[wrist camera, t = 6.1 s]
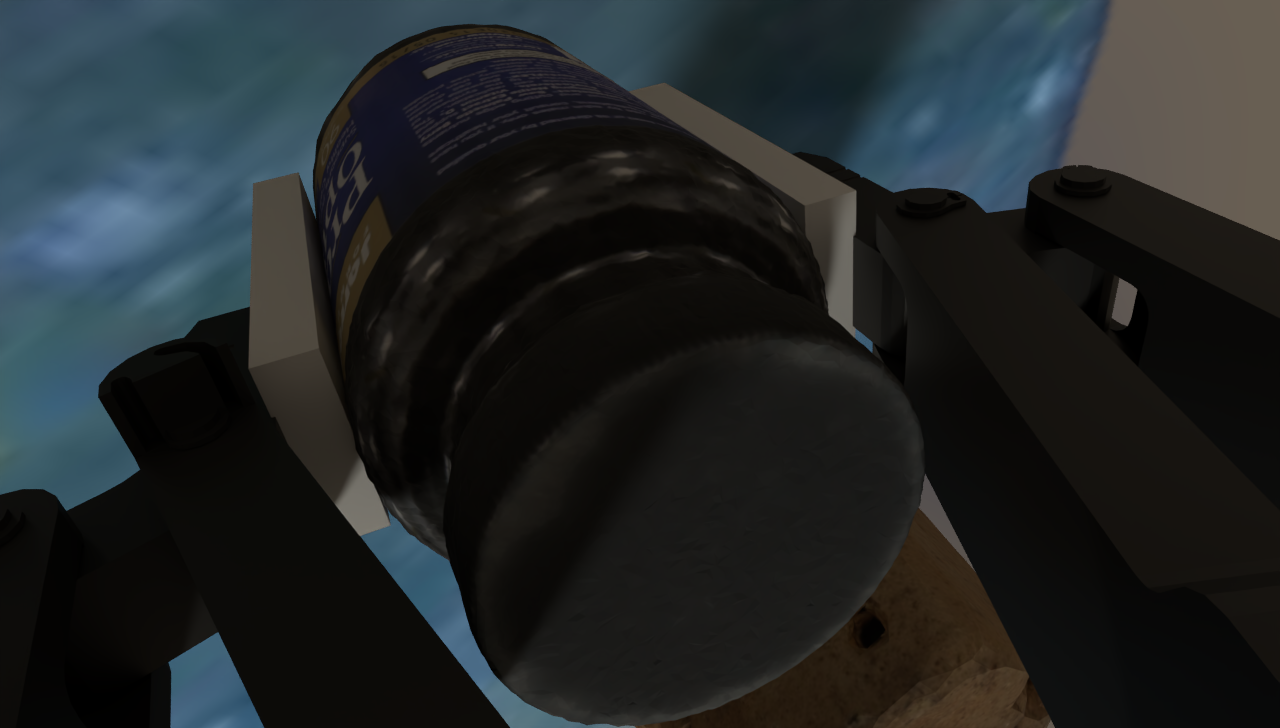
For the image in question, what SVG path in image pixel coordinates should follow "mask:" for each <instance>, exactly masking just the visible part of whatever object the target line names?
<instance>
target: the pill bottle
mask: <svg viewBox="0 0 1280 728" xmlns="http://www.w3.org/2000/svg"><path fill="white" fill-rule="evenodd" d="M313 191H314V201H315V211H316V221H317V225H318V230H319V235H320V241H321V247H322V253H323V261H324V268H325V273H326V278H327V285H328V290H329V296H330V302H331V309H332V316H333V322H334V327H335V332H336V339H337V345H338V350H339V356H340V362H341V370H342V374H343V379H344V385H345V391H346V404H347V407H348V414H349V420H350V423H351V426H352V431H353V436H354V441H355V448H356V451H357V453H358V455H359V457H360V458H361V460H362V462H363V464H364V467H365V471H366V475H367V477H368V479H369V480H370V481H371V482H372V483H373V484H374V487H375V489H376V491H377V493H378V495H379V497H380V499H381V502H382V504H383V505H384V506H386V507H387V508H388V510H389V512H390V513H391V515H392V516H394V517H395V518H396V519H397V520H398V521H399V522H400V523H401V524H402V526H403V527H404V528H405V529H406V531H407V532H408V533H409V534H410V535H413V536H415V537H416V538H417V539H418V540H419V541H420V542H421V543H423V544H424V545H426V546H428V547H429V548H430V549H432V550H433V551H435V552H436V553H438V554H439V555H441V556H443V557H444V558H446V559H447V560H449V561H450V564H451V567H452V570H453V573H454V575H455V578H456V581H457V583H458V585H459V589H460V592H461V597H462V601H463V605H464V608H465V612H466V616H467V619H468V623H469V626H470V629H471V632H472V634H473V636H474V639H475V641H476V643H477V645H478V648H479V650H480V651H481V653H482V655H483V656H484V657H485V659H486V661H487V663H488V665H489V667H490V669H491V670H492V672H493V673H494V675H495V676H496V677H497V678H498V679H499V680H500V681H501V682H502V683H503V684H504V685H505V686H506V687H507V688H508V689H509V690H510V691H511V692H512V693H514V694H516V695H517V696H518V697H519V698H521V699H522V700H523V701H524V702H526V703H528V704H530V705H532V706H534V707H535V708H537V709H540V710H542V711H544V712H546V713H548V714H551V715H553V716H557V717H563V718H564V719H566V720H567V721H571V722H580V723H582V724H585V725H592V724H610V725H614V726H617V727H619V726H625V725H629V726H641V725H646V724H656V723H662V722H666V721H675V720H678V719H681V718H684V717H687V716H690V715H693V714H698V713H701V712H703V711H706V710H713V709H715V708H717V707H720V706H722V705H724V704H726V703H728V702H730V701H732V700H735V699H738V698H741V697H742V696H744V695H745V694H747V693H750V692H752V691H754V690H756V689H758V688H759V687H761V686H763V685H765V684H766V683H768V682H770V681H772V680H774V679H776V678H778V677H779V676H781V675H782V674H783V673H785V672H786V671H788V670H789V669H791V668H793V667H794V666H796V665H797V664H799V663H800V662H801V661H802V660H804V659H805V658H806V657H808V656H809V655H810V654H811V653H813V652H814V651H815V650H817V649H818V648H819V647H821V646H822V645H823V644H824V643H825V642H826V641H828V640H829V639H830V638H831V637H833V636H834V635H835V634H836V633H837V632H838V631H839V630H840V629H841V628H842V627H843V626H844V625H845V624H846V623H847V622H848V621H849V620H850V619H851V618H852V616H853V615H854V614H855V613H856V612H857V611H858V609H859V608H860V607H861V606H862V605H863V604H864V603H865V602H866V600H867V599H868V598H869V597H870V596H871V595H872V594H873V593H874V592H875V590H876V588H877V587H878V585H879V583H880V582H881V581H882V579H883V578H884V576H885V575H886V574H887V572H888V571H889V570H890V568H891V567H892V565H893V563H894V561H895V559H896V558H897V556H898V555H899V553H900V551H901V549H902V547H903V545H904V543H905V540H906V538H907V536H908V534H909V530H910V527H911V524H912V521H913V518H914V515H915V513H916V511H917V510H918V508H919V506H920V501H921V494H922V490H923V481H924V476H925V467H926V465H925V449H924V438H923V434H922V430H921V425H920V421H919V418H918V415H917V413H916V410H915V407H914V405H913V402H912V400H911V398H910V396H909V394H908V393H907V392H906V390H905V388H904V387H903V385H902V384H901V382H900V380H899V379H898V378H897V377H896V376H895V375H894V374H893V373H892V372H891V371H890V369H889V368H888V367H887V366H886V365H885V364H884V363H883V362H882V361H881V360H880V359H879V358H877V357H876V356H875V355H874V354H872V353H871V352H870V351H869V350H868V349H867V348H866V347H865V346H864V345H863V344H861V343H860V342H859V341H858V340H856V339H855V338H854V337H853V336H852V335H851V334H850V333H849V332H848V331H847V330H846V329H845V328H844V327H843V326H842V325H841V324H840V323H839V322H837V321H836V320H835V319H833V318H832V317H830V316H829V313H828V311H829V309H828V301H827V299H826V294H825V282H824V280H823V277H822V275H821V272H820V266H819V263H818V261H817V260H816V258H815V256H814V254H813V249H812V246H811V242H810V241H809V240H808V239H807V237H806V235H805V234H804V232H803V231H802V229H801V228H800V226H799V225H798V224H797V222H796V220H795V219H794V217H793V215H792V213H791V212H790V211H789V209H788V208H787V207H786V206H785V205H784V204H783V202H782V201H781V199H780V198H779V197H778V196H777V195H776V194H775V193H774V192H773V191H772V190H771V189H770V188H769V187H768V186H766V185H765V184H763V183H762V182H761V181H760V180H758V179H757V178H756V176H755V175H754V174H753V173H752V172H751V171H750V170H749V169H747V168H746V167H744V166H743V165H741V164H740V163H738V162H736V161H735V160H733V159H730V158H728V157H727V156H725V155H723V154H722V153H720V152H719V151H717V150H715V149H714V148H712V147H711V146H709V145H708V144H707V143H705V142H704V141H702V140H700V139H699V138H697V137H696V136H694V135H693V134H691V133H690V132H689V131H687V130H686V129H684V128H682V127H681V126H679V125H678V124H676V123H675V122H673V121H672V120H670V119H669V118H667V117H666V116H664V115H663V114H661V113H659V112H658V111H657V110H655V109H654V108H652V107H651V106H649V105H648V104H647V103H645V102H643V101H642V100H640V99H639V98H637V97H636V96H634V95H632V94H631V93H630V92H628V91H627V90H625V89H624V88H622V87H620V86H619V85H617V84H616V83H615V82H614V81H612V80H610V79H609V78H607V77H606V76H604V75H602V74H601V73H599V72H597V71H596V70H594V69H593V68H591V67H590V66H588V65H586V64H585V63H584V62H582V61H581V60H579V59H577V58H576V57H574V56H573V55H571V54H569V53H568V52H566V51H565V50H563V49H561V48H560V47H558V46H557V45H555V44H554V43H552V42H551V41H549V40H547V39H546V38H543V37H541V36H538V35H535V34H532V33H529V32H526V31H523V30H520V29H517V28H513V27H509V26H501V25H476V24H463V25H453V26H443V27H438V28H434V29H431V30H427V31H425V32H422V33H420V34H417V35H414V36H411V37H408V38H406V39H403V40H402V41H400V42H398V43H396V44H394V45H393V46H391V47H389V48H388V49H386V50H384V51H383V52H381V53H379V54H377V55H376V56H375V57H374V58H373V59H372V60H371V61H370V62H369V63H368V64H367V65H366V66H365V67H364V68H363V69H362V70H361V71H360V73H359V74H358V75H357V76H356V77H355V79H354V80H353V81H352V82H351V83H350V85H349V86H348V88H347V89H346V91H345V92H344V94H343V95H342V97H341V98H340V100H339V101H338V103H337V104H336V105H335V107H334V108H333V109H332V111H331V112H330V114H329V115H328V116H327V118H326V120H325V122H324V124H323V126H322V129H321V131H320V134H319V136H318V139H317V144H316V155H315V164H314V169H313Z"/></svg>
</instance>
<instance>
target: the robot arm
mask: <svg viewBox="0 0 1280 728" xmlns="http://www.w3.org/2000/svg"><path fill="white" fill-rule="evenodd" d="M629 92H630V93H631V94H632V95H634V96H636V97H637V98H639V99H640V100H642V101H643V102H645V103H647V104H648V105H649V106H651V107H652V108H654V109H655V110H657V111H658V112H659V113H661V114H663V115H664V116H666V117H667V118H669V119H670V120H672V121H673V122H675V123H676V124H678V125H679V126H681V127H682V128H684V129H686V130H687V131H689V132H690V133H691V134H693V135H694V136H696V137H697V138H699V139H700V140H702V141H704V142H705V143H707V144H708V145H709V146H711V147H712V148H714V149H715V150H717V151H719V152H720V153H722V154H723V155H725V156H727V157H728V158H730V159H733V160H735V161H736V162H738V163H740V164H741V165H743V166H744V167H746V168H747V169H749V170H750V171H751V172H752V173H753V174H754V175H755V176H756V178H757V179H758V180H760V181H761V182H762V183H763V184H765V185H766V186H768V187H769V188H770V189H771V190H772V191H773V192H774V193H775V194H776V195H777V196H778V197H779V198H780V199H781V201H782V202H783V204H784V205H785V206H786V207H787V208H788V209H789V211H790V212H791V213H792V215H793V217H794V219H795V220H796V222H797V224H798V225H799V226H800V228H801V229H802V231H803V232H804V234H805V235H806V237H807V239H808V240H809V241H810V242H811V246H812V249H813V254H814V256H815V258H816V260H817V261H818V263H819V266H820V272H821V275H822V277H823V280H824V282H825V294H826V299H827V301H828V309H829V311H828V313H829V316H830V317H832V318H833V319H835V320H836V321H837V322H839V323H840V324H841V325H842V326H843V327H844V328H845V329H846V330H847V331H848V332H849V333H850V334H851V335H852V336H853V337H854V338H855V328H856V329H857V330H858V331H860V332H861V333H862V334H863V335H865V336H866V337H867V338H868V339H870V340H871V341H872V342H873V352H872V354H874V355H875V356H876V357H877V358H879V359H880V360H881V361H882V362H883V363H884V364H885V365H886V366H887V367H888V368H889V369H890V371H891V372H892V373H893V374H894V375H895V376H896V377H897V378H898V379H899V380H900V382H901V384H902V385H903V387H904V388H905V390H906V392H907V393H908V394H909V396H910V398H911V400H912V402H913V405H914V407H915V410H916V413H917V415H918V418H919V421H920V425H921V430H922V434H923V438H924V449H925V465H926V467H925V474H926V476H927V478H928V480H929V481H930V483H931V485H932V487H933V489H934V491H935V493H936V495H937V497H938V499H939V501H940V503H941V505H942V507H943V509H944V511H945V512H946V515H947V517H948V519H949V521H950V523H951V525H952V527H953V529H954V530H955V532H956V534H957V536H958V538H959V540H960V542H961V544H962V546H963V548H964V550H965V552H966V554H967V556H968V558H969V560H970V562H971V564H972V566H973V568H974V570H975V571H976V574H977V576H978V578H979V579H980V581H981V583H982V585H983V587H984V589H985V591H986V593H987V595H988V597H989V599H990V601H991V603H992V605H993V607H994V609H995V611H996V613H997V615H998V617H999V619H1000V621H1001V623H1002V625H1003V626H1004V628H1005V630H1006V632H1007V634H1008V636H1009V638H1010V640H1011V642H1012V644H1013V646H1014V648H1015V650H1016V652H1017V654H1018V656H1019V658H1020V660H1021V662H1022V664H1023V666H1024V668H1025V670H1026V672H1027V674H1028V675H1029V677H1030V679H1031V681H1032V683H1033V685H1034V687H1035V689H1036V691H1037V693H1038V695H1039V697H1040V699H1041V701H1042V703H1043V705H1044V707H1045V709H1046V711H1047V713H1048V715H1049V717H1050V719H1051V720H1052V722H1053V724H1054V726H1055V728H1280V240H1277V239H1275V238H1272V237H1270V236H1268V235H1265V234H1263V233H1260V232H1258V231H1255V230H1253V229H1251V228H1248V227H1246V226H1244V225H1242V224H1239V223H1237V222H1234V221H1232V220H1229V219H1227V218H1225V217H1223V216H1220V215H1218V214H1215V213H1213V212H1211V211H1208V210H1206V209H1204V208H1201V207H1199V206H1196V205H1194V204H1192V203H1189V202H1187V201H1185V200H1182V199H1180V198H1177V197H1175V196H1173V195H1170V194H1168V193H1165V192H1163V191H1161V190H1158V189H1156V188H1154V187H1151V186H1149V185H1147V184H1144V183H1142V182H1140V181H1137V180H1135V179H1132V178H1130V177H1128V176H1125V175H1123V174H1119V173H1116V172H1113V171H1109V170H1104V169H1097V168H1093V167H1092V166H1088V165H1078V167H1076V165H1073V166H1064V167H1063V168H1061V169H1055V170H1049V171H1046V172H1044V173H1041V174H1039V175H1036V176H1035V177H1034V178H1033V179H1032V180H1031V181H1030V182H1029V187H1028V195H1027V203H1026V208H1022V209H1015V210H1007V211H999V212H991V213H986V212H985V211H984V210H983V209H982V208H981V207H980V206H979V205H978V204H977V203H976V202H975V201H974V200H973V199H971V198H969V197H968V196H966V195H964V194H963V193H960V192H958V191H952V190H948V189H938V188H917V189H908V190H904V191H899V192H895V193H893V192H891V191H889V190H887V189H885V188H883V187H881V186H880V185H878V184H876V183H874V182H872V181H870V180H868V179H866V178H865V177H862V178H861V177H860V175H859V174H857V173H855V172H853V171H851V170H850V169H847V170H846V169H845V167H844V166H842V165H840V164H838V163H836V162H835V161H833V160H831V159H829V158H827V157H822V156H818V155H813V154H808V153H803V152H798V153H794V154H790V153H789V152H787V151H785V150H783V149H782V148H780V147H778V146H776V145H774V144H773V143H771V142H769V141H767V140H766V139H764V138H762V137H760V136H758V135H757V134H755V133H753V132H751V131H750V130H748V129H746V128H744V127H742V126H741V125H739V124H737V123H735V122H734V121H732V120H730V119H728V118H726V117H725V116H723V115H721V114H719V113H718V112H716V111H714V110H712V109H710V108H709V107H707V106H705V105H703V104H702V103H700V102H698V101H696V100H694V99H693V98H691V97H689V96H687V95H686V94H684V93H682V92H680V91H678V90H677V89H675V88H673V87H671V86H670V85H668V84H666V83H662V84H657V85H653V86H649V87H645V88H641V89H637V90H633V91H629ZM1119 278H1121V279H1123V280H1124V281H1126V282H1128V283H1130V284H1132V285H1133V286H1134V287H1135V288H1137V289H1138V290H1137V295H1136V299H1135V304H1134V309H1133V313H1132V318H1131V320H1130V323H1129V325H1128V326H1125V325H1122V324H1120V323H1119V322H1117V321H1115V320H1114V319H1112V312H1113V308H1114V302H1115V298H1116V293H1117V288H1118V283H1119ZM98 398H99V399H100V401H101V403H102V404H103V406H104V408H105V409H106V411H107V413H108V414H109V416H110V418H111V419H112V421H113V423H114V424H115V426H116V428H117V429H118V431H119V433H120V434H121V436H122V438H123V439H124V441H125V443H126V444H127V446H128V448H129V449H130V451H131V453H132V454H133V456H134V458H135V460H136V462H137V464H138V466H139V468H140V470H139V471H138V472H136V473H135V474H134V475H132V476H131V477H129V478H128V479H127V480H125V481H124V482H122V483H120V484H118V485H117V486H115V487H113V488H111V489H110V490H108V491H106V492H104V493H102V494H100V495H98V496H96V497H94V498H92V499H90V500H88V501H86V502H84V503H82V504H80V505H78V506H76V507H74V508H72V509H70V510H68V511H66V510H65V509H64V507H63V506H62V504H61V503H60V501H59V500H58V498H57V497H56V496H55V495H53V494H51V493H49V492H47V491H45V490H44V489H22V490H18V491H14V492H9V493H5V494H1V495H0V728H170V717H171V670H170V666H169V663H168V662H169V661H171V660H172V659H174V658H176V657H177V656H179V655H181V654H182V653H184V652H186V651H187V650H189V649H191V648H192V647H194V646H196V645H197V644H199V643H201V642H202V641H204V640H205V639H207V638H209V637H210V636H212V635H214V634H215V633H217V632H219V634H220V636H221V639H222V641H223V643H224V645H225V647H226V649H227V651H228V653H229V655H230V657H231V659H232V661H233V664H234V666H235V668H236V670H237V672H238V674H239V676H240V678H241V680H242V682H243V684H244V686H245V689H246V691H247V693H248V695H249V697H250V699H251V701H252V703H253V705H254V707H255V709H256V711H257V713H258V716H259V718H260V720H261V722H262V724H263V726H264V728H510V727H509V726H508V724H507V723H506V722H505V720H504V719H503V718H502V717H501V715H500V714H499V713H498V711H497V710H496V709H495V708H494V706H493V705H492V704H491V703H490V701H489V700H488V699H487V697H486V696H485V695H484V694H483V692H482V691H481V690H480V689H479V687H478V686H477V685H476V683H475V682H474V681H473V680H472V678H471V677H470V676H469V675H468V673H467V672H466V671H465V669H464V668H463V667H462V666H461V664H460V663H459V662H458V660H457V659H456V658H455V657H454V655H453V654H452V653H451V652H450V650H449V649H448V648H447V646H446V645H445V644H444V643H443V641H442V640H441V639H440V638H439V636H438V635H437V634H436V632H435V631H434V630H433V629H432V627H431V626H430V625H429V624H428V622H427V621H426V620H425V618H424V617H423V616H422V615H421V613H420V612H419V611H418V609H417V608H416V607H415V606H414V604H413V603H412V602H411V601H410V599H409V598H408V597H407V595H406V594H405V593H404V592H403V590H402V589H401V588H400V587H399V585H398V584H397V583H396V581H395V580H394V579H393V578H392V576H391V575H390V574H389V573H388V571H387V570H386V569H385V567H384V566H383V565H382V564H381V562H380V561H379V560H378V558H377V557H376V556H375V555H374V553H373V552H372V551H371V550H370V548H369V547H368V546H367V544H366V543H365V542H364V541H363V539H362V538H361V537H360V536H361V535H364V534H367V533H370V532H373V531H376V530H379V529H381V528H384V527H387V526H390V520H389V514H388V509H387V507H386V506H384V505H383V504H382V502H381V499H380V497H379V495H378V493H377V491H376V489H375V487H374V484H373V483H372V482H371V481H370V480H369V479H368V477H367V475H366V471H365V467H364V464H363V462H362V460H361V458H360V457H359V455H358V453H357V451H356V448H355V441H354V436H353V431H352V426H351V423H350V420H349V414H348V407H347V404H346V391H345V385H344V379H343V374H342V370H341V362H340V356H339V350H338V345H337V339H336V332H335V327H334V322H333V316H332V309H331V302H330V296H329V290H328V285H327V278H326V273H325V268H324V261H323V253H322V247H321V241H320V235H319V230H318V225H317V221H316V219H315V216H314V213H313V210H312V208H311V205H310V202H309V200H308V197H307V194H306V192H305V189H304V186H303V183H302V181H301V178H300V175H299V173H294V174H290V175H286V176H282V177H278V178H274V179H270V180H266V181H262V182H258V183H253V214H252V252H251V291H250V307H247V308H243V309H240V310H236V311H233V312H229V313H225V314H222V315H218V316H215V317H211V318H207V319H204V320H200V321H198V322H197V324H196V325H195V326H194V327H193V328H192V329H191V331H190V332H189V333H188V334H187V335H186V336H185V337H184V338H180V339H175V340H172V341H168V342H165V343H162V344H159V345H156V346H153V347H150V348H148V349H146V350H144V351H142V352H140V353H138V354H136V355H134V356H132V357H130V358H128V359H127V360H125V361H124V362H123V363H121V364H120V365H119V366H117V367H116V368H114V369H113V370H112V371H110V372H109V373H108V375H107V376H106V377H105V379H104V380H103V381H102V382H101V384H100V385H99V394H98Z"/></svg>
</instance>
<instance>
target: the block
mask: <svg viewBox="0 0 1280 728" xmlns="http://www.w3.org/2000/svg"><path fill="white" fill-rule="evenodd" d="M1050 720H1051V719H1050V717H1049V715H1048V713H1047V711H1046V709H1045V707H1044V705H1043V703H1042V701H1041V699H1040V697H1039V695H1038V693H1037V691H1036V689H1035V687H1034V685H1033V683H1032V681H1031V679H1030V677H1029V675H1028V674H1027V672H1026V670H1025V668H1024V666H1023V664H1022V662H1021V660H1020V658H1019V656H1018V654H1017V652H1016V650H1015V648H1014V646H1013V644H1012V642H1011V640H1010V638H1009V636H1008V634H1007V632H1006V630H1005V628H1004V626H1003V625H1002V623H1001V621H1000V619H999V617H998V615H997V613H996V611H995V609H994V607H993V605H992V603H991V601H990V599H989V597H988V595H987V593H986V591H985V589H984V587H983V585H982V583H981V581H980V579H979V578H978V576H977V574H976V572H975V571H974V570H973V569H972V568H971V566H970V565H969V564H968V563H967V562H966V561H965V559H964V558H963V557H962V556H961V555H960V554H959V553H958V552H957V551H956V549H955V548H954V547H953V546H952V545H951V544H950V543H949V542H948V540H947V539H946V538H945V537H944V536H943V535H942V534H941V532H940V531H939V530H938V529H937V528H936V527H935V525H934V524H933V523H932V522H931V521H930V520H929V519H928V517H927V516H926V515H925V514H924V513H923V512H922V511H921V510H920V509H919V508H918V510H917V511H916V513H915V515H914V518H913V521H912V524H911V527H910V530H909V534H908V536H907V538H906V540H905V543H904V545H903V547H902V549H901V551H900V553H899V555H898V556H897V558H896V559H895V561H894V563H893V565H892V567H891V568H890V570H889V571H888V572H887V574H886V575H885V576H884V578H883V579H882V581H881V582H880V583H879V585H878V587H877V588H876V590H875V592H874V593H873V594H872V595H871V596H870V597H869V598H868V599H867V600H866V602H865V603H864V604H863V605H862V606H861V607H860V608H859V609H858V611H857V612H856V613H855V614H854V615H853V616H852V618H851V619H850V620H849V621H848V622H847V623H846V624H845V625H844V626H843V627H842V628H841V629H840V630H839V631H838V632H837V633H836V634H835V635H834V636H833V637H831V638H830V639H829V640H828V641H826V642H825V643H824V644H823V645H822V646H821V647H819V648H818V649H817V650H815V651H814V652H813V653H811V654H810V655H809V656H808V657H806V658H805V659H804V660H802V661H801V662H800V663H799V664H797V665H796V666H794V667H793V668H791V669H789V670H788V671H786V672H785V673H783V674H782V675H781V676H779V677H778V678H776V679H774V680H772V681H770V682H768V683H766V684H765V685H763V686H761V687H759V688H758V689H756V690H754V691H752V692H750V693H747V694H745V695H744V696H742V697H741V698H738V699H735V700H732V701H730V702H728V703H726V704H724V705H722V706H720V707H717V708H715V709H713V710H706V711H703V712H701V713H698V714H693V715H690V716H687V717H684V718H681V719H678V720H675V721H666V722H662V723H656V724H646V725H641V726H635V727H636V728H1047V726H1048V724H1049V722H1050Z"/></svg>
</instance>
